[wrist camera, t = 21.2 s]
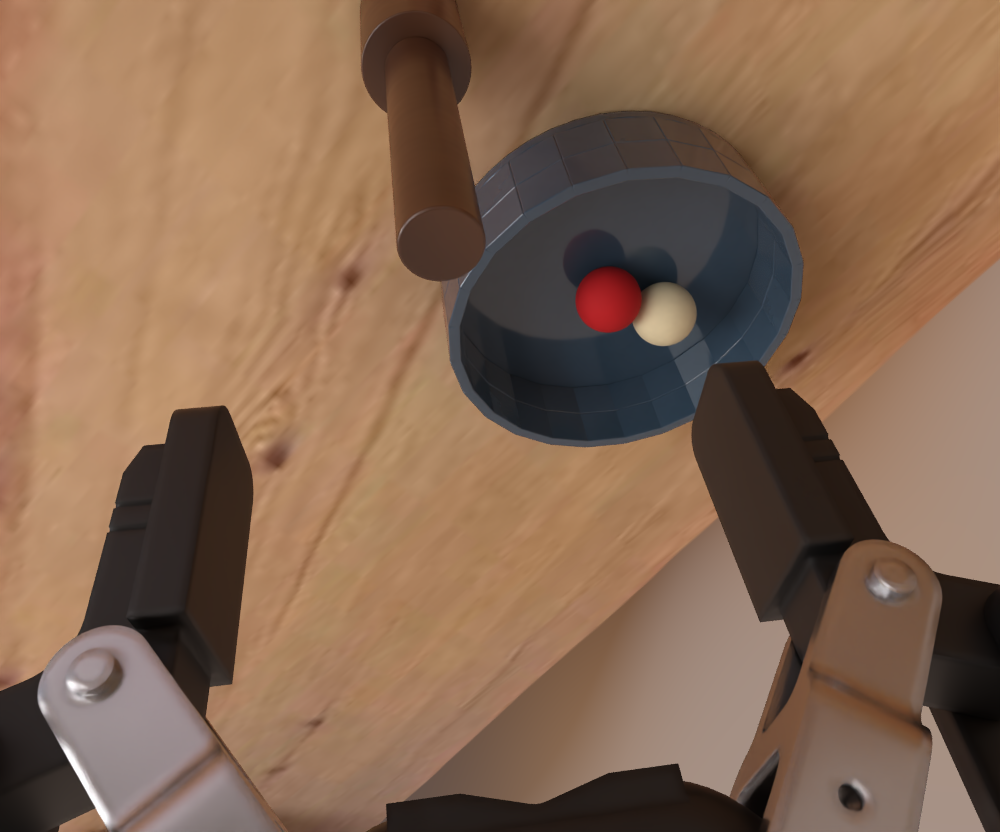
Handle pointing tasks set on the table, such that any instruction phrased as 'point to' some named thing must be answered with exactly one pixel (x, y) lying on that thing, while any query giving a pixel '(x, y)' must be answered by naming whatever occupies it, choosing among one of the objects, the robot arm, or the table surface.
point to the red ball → (608, 299)
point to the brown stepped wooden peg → (425, 131)
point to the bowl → (624, 244)
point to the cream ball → (665, 314)
